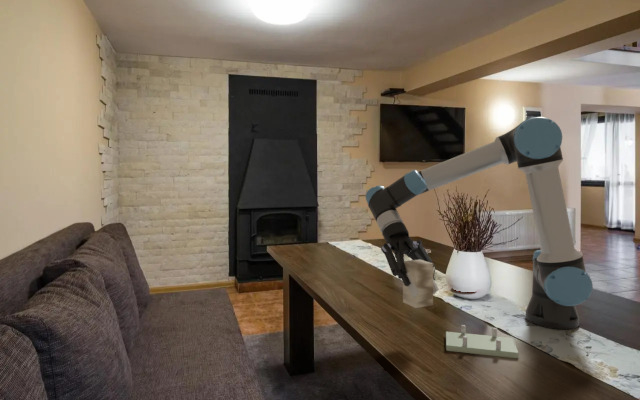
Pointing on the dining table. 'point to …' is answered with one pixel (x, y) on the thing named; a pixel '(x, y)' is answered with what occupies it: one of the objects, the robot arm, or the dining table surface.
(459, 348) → the peg board
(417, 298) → the tan block
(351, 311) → the dining table surface
